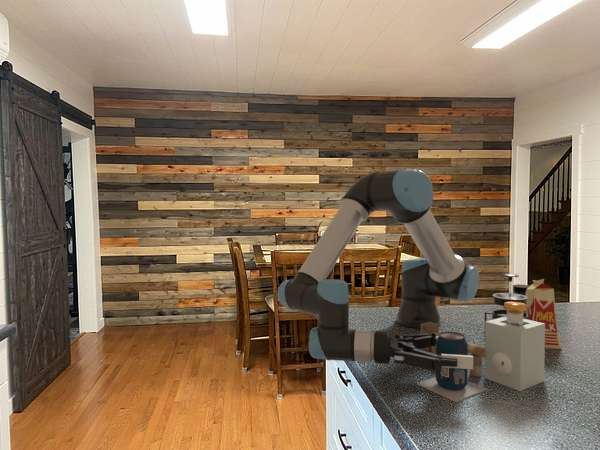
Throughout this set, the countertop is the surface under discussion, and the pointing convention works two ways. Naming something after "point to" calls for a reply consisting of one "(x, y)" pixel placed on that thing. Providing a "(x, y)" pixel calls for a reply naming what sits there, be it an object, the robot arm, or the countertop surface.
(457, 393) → the mat
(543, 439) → the countertop surface
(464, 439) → the countertop surface
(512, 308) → the gauge knob
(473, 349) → the handrail
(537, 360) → the cabinet
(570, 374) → the countertop surface
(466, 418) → the countertop surface
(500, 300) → the french press
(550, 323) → the milk carton
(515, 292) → the supplement container
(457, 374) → the soda can
